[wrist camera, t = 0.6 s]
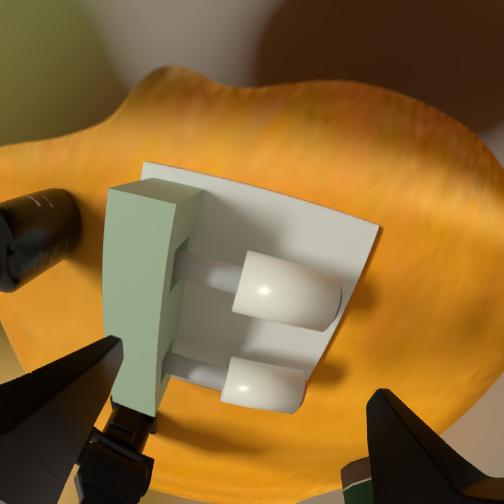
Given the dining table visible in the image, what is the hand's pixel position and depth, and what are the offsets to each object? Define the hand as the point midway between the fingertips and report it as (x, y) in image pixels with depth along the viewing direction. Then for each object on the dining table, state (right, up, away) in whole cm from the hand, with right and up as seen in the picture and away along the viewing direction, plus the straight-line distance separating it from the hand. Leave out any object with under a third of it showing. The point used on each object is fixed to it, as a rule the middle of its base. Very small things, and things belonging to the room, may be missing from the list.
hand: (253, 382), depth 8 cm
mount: (-3, 0, +14) cm, 15 cm away
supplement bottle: (-18, +7, +13) cm, 24 cm away
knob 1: (-1, +3, +11) cm, 11 cm away
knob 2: (-2, -5, +14) cm, 15 cm away
